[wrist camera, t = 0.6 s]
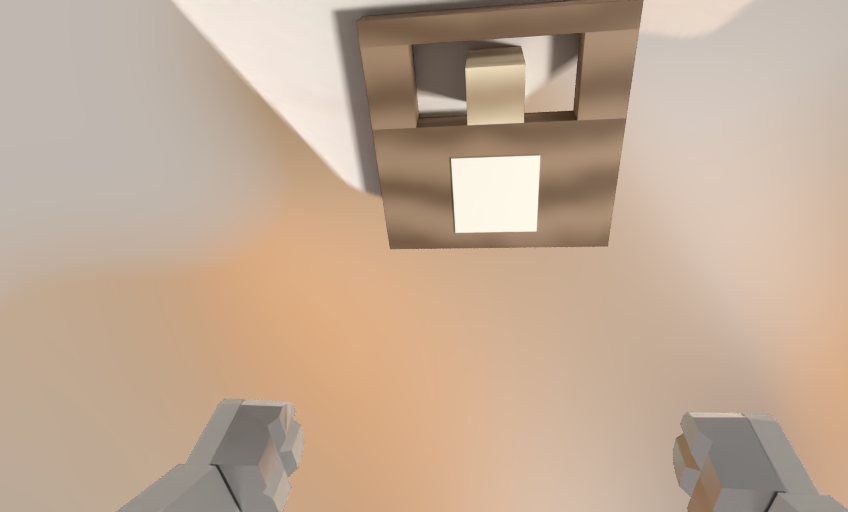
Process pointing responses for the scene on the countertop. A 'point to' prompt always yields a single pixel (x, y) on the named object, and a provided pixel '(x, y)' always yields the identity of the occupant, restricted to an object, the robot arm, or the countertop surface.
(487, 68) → the ash block
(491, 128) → the pocket board
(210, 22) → the countertop surface
